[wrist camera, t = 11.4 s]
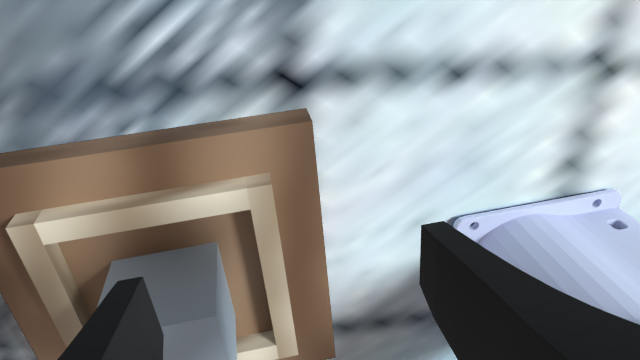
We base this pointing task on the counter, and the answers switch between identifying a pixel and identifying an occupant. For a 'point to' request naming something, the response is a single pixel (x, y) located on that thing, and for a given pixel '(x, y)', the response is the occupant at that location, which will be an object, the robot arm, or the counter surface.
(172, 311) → the block
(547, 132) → the counter surface
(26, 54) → the counter surface
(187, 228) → the base board
